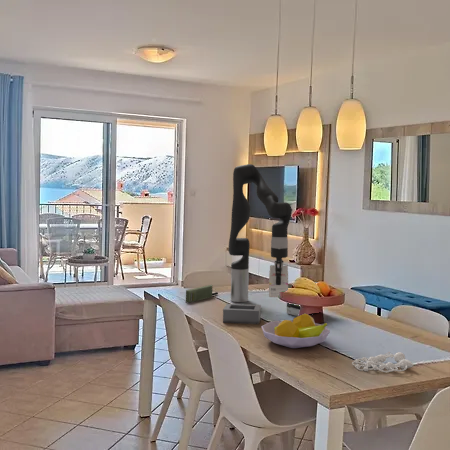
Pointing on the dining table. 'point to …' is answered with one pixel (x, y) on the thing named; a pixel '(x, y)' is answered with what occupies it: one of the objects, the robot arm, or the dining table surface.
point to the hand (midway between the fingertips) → (278, 283)
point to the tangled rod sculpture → (379, 359)
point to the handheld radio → (199, 293)
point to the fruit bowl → (296, 332)
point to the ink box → (273, 287)
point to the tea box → (293, 306)
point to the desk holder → (242, 313)
